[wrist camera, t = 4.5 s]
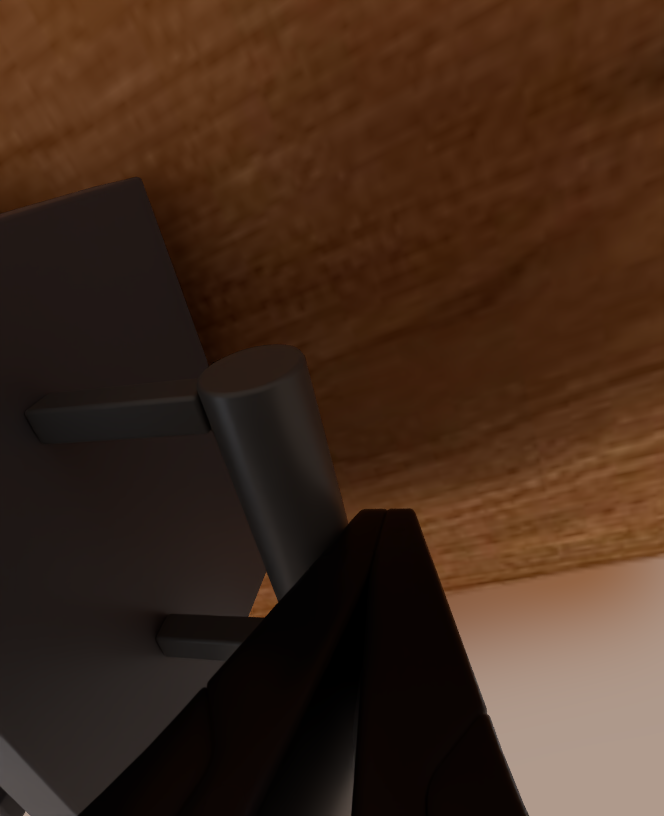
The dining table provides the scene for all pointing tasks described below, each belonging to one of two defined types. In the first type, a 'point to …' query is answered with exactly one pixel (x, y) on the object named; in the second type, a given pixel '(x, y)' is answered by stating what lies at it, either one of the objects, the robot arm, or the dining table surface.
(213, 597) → the drawer
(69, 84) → the dining table surface
